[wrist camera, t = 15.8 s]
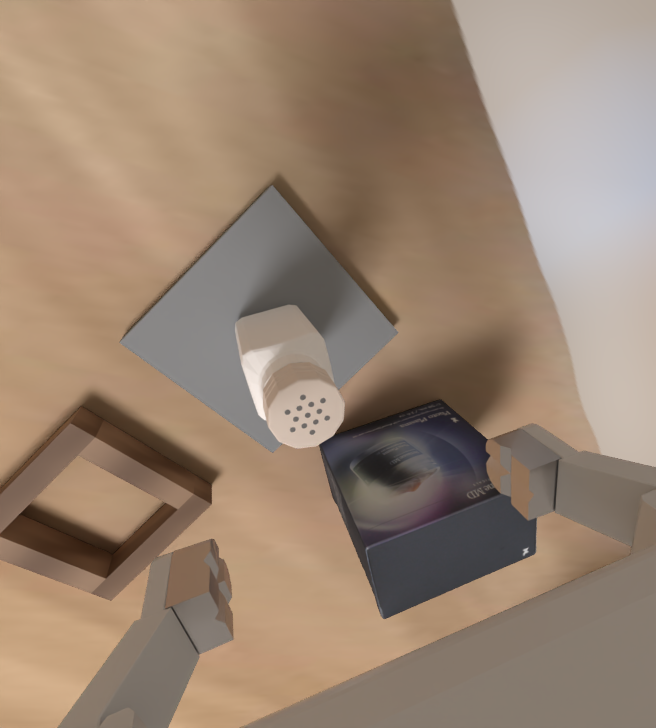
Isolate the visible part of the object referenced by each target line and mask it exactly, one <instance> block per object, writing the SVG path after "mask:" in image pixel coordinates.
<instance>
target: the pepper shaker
mask: <svg viewBox="0 0 656 728" xmlns="http://www.w3.org/2000/svg"><path fill="white" fill-rule="evenodd" d="M235 333H236V339H237V344H238V349H239V355H240V360H241V365H242V368H243V371H244V374H245V377H246V380H247V383H248V386H249V389H250V392H251V395H252V398H253V401H254V404H255V407H256V410H257V413H258V415H259V416H260V417H261V418H262V419H264V420H266V421H267V425H268V428H269V429H270V430H271V432H272V433H273V435H274V436H275V437H276V439H277V440H278V441H279V442H281V443H283V444H286V445H289V446H291V447H294V448H296V449H297V448H306V447H314V446H317V445H319V444H321V443H322V442H324V441H326V440H327V439H329V438H331V437H332V436H333V435H334V434H335V432H336V431H337V429H338V428H339V426H340V425H341V423H342V422H343V420H344V410H345V401H344V399H343V397H342V395H341V394H340V392H339V390H338V388H337V387H336V385H335V384H334V378H333V373H332V368H331V364H330V360H329V356H328V352H327V348H326V345H325V341H324V339H323V337H322V336H321V335H320V334H319V332H318V331H317V330H316V329H315V327H314V326H313V325H312V324H311V322H310V321H309V320H308V319H307V318H306V316H305V315H304V314H303V313H302V312H301V310H300V309H299V308H298V307H297V305H285V306H282V307H278V308H274V309H271V310H267V311H264V312H260V313H256V314H253V315H249V316H246V317H242V318H241V319H239V320H238V321H237V322H236V324H235Z"/></svg>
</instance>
